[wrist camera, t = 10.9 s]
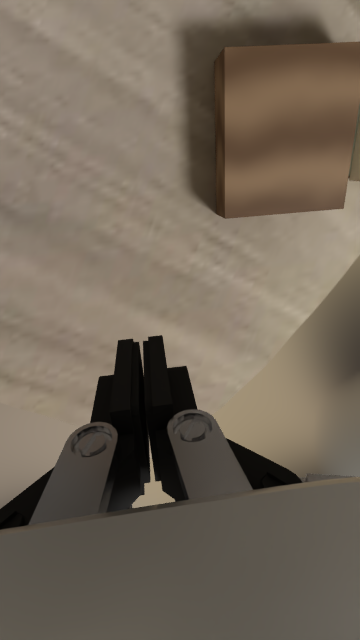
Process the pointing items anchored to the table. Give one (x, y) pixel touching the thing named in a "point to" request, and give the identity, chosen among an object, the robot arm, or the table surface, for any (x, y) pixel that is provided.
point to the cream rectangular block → (356, 158)
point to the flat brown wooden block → (284, 127)
